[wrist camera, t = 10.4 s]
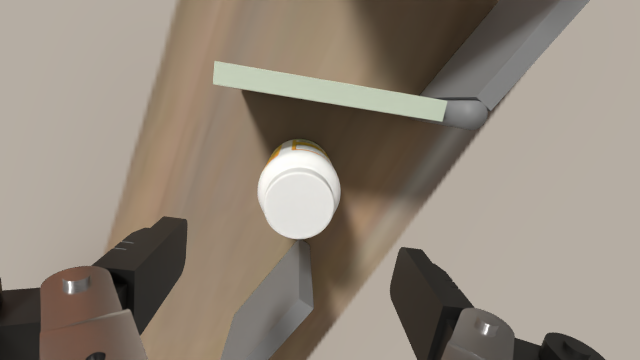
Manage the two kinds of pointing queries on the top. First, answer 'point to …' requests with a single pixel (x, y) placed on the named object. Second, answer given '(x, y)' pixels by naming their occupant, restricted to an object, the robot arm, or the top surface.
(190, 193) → the top surface
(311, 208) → the supplement bottle
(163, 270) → the robot arm
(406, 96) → the door
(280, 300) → the door frame
